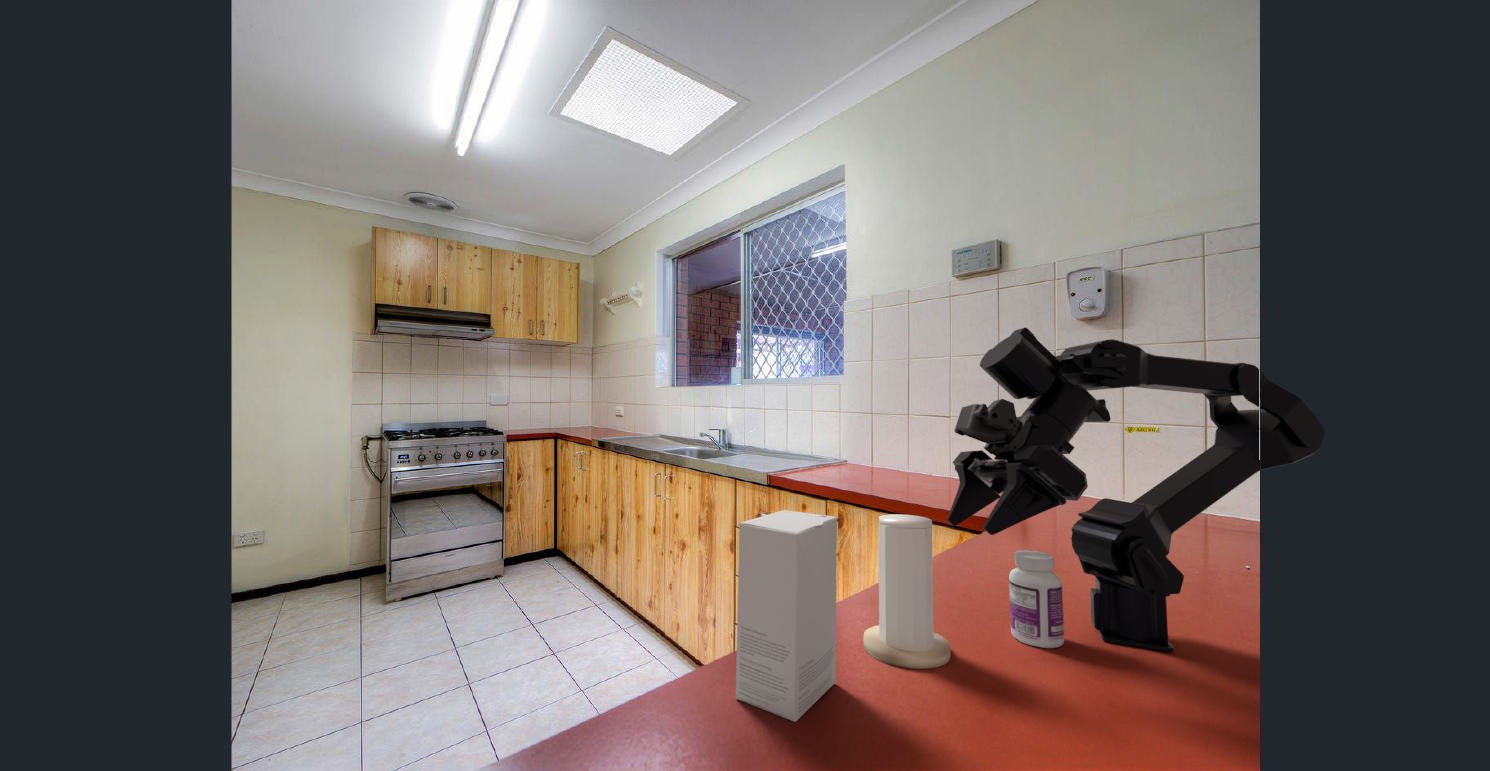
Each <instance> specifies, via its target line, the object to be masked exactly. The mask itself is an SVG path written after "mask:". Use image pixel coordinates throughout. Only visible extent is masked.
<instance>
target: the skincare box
mask: <svg viewBox="0 0 1490 771" xmlns="http://www.w3.org/2000/svg"><path fill="white" fill-rule="evenodd" d="M738 528H739V530H738V532H739V533H738V570H737V571H738V578H737V579H738V580H737V624H736V627H737V628H736V663H735V664H736V666H735V667H736V668H735V672H736V673H735V699H736V700H738V701H740V702H741V701H742V702H744V703H746V704H749V705H751V706H753V707H756V708H757V709H758V708H759V709H761V710H764V711H765V712H769V713H771V714H774V715H776V716H779V717H782V718H783V719H786V720H789V721H791V722H794V723H795V722H798V720H799V719H800V718H801V717H803V715H804V714H805V713H806V712H807V711H808V710H809V709H811V708H812V707H813V705H814V704H816V702H817V701H819V700H820V699H821V697H822V696H824V695H825V693H827V692H828V691H829V690H830V689H831V688H832V687H833V686H834V685H835V684H836V683H837V679H836V678H837V675H836V674H837V672H836V670H837V669H836V668H837V666H836V664H837V661H836V660H837V654H836V653H837V650H836V649H837V636H836V635H837V563H838V562H837V561H838V560H837V557H838V556H837V555H838V554H837V553H838V552H837V551H838V550H837V549H838V548H837V547H838V541H837V540H838V536H837V535H838V517H837V516H833V515H825V514H819V513H818V514H817V513H809V512H803V511H802V512H801V511H794V510H787V509H783V510H778V511H776V512H772V513H770V514H767V515H763V516H759V517H755V518H752V519H748V520H744V521H741V522H738Z"/></svg>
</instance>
